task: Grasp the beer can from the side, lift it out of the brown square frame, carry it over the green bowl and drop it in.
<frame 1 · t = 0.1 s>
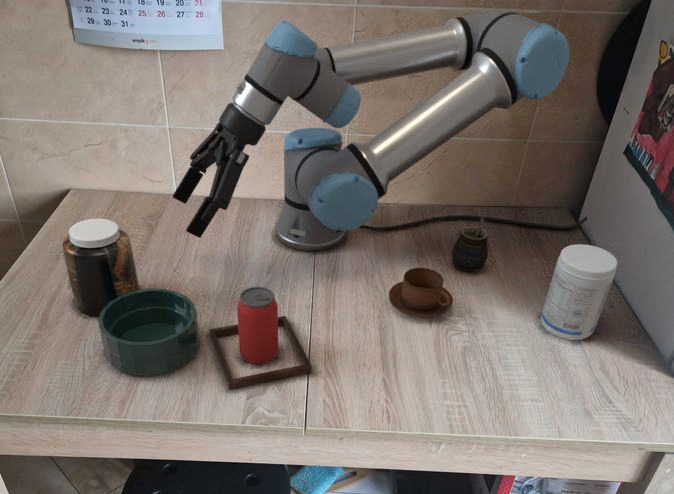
hand: (185, 216, 117), 15 cm above the table, tool tilted 35°, fingers open, 13 cm apart
supplement tub: (565, 327, 119), on the table
cup and saucer: (419, 306, 123), on the table
mate gourd: (467, 266, 135), on the table
green bowl: (153, 347, 112), on the table
beer can: (259, 354, 111), resting in brown square frame
brown square frame: (259, 353, 111), on the table
jar: (108, 300, 123), on the table
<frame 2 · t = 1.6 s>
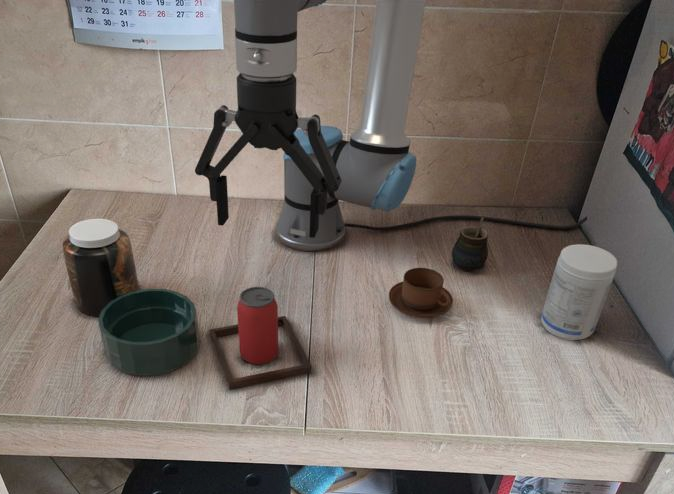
hand: (268, 227, 94), 25 cm above the table, tool pointing down, fingers open, 13 cm apart
nothing on the table moved.
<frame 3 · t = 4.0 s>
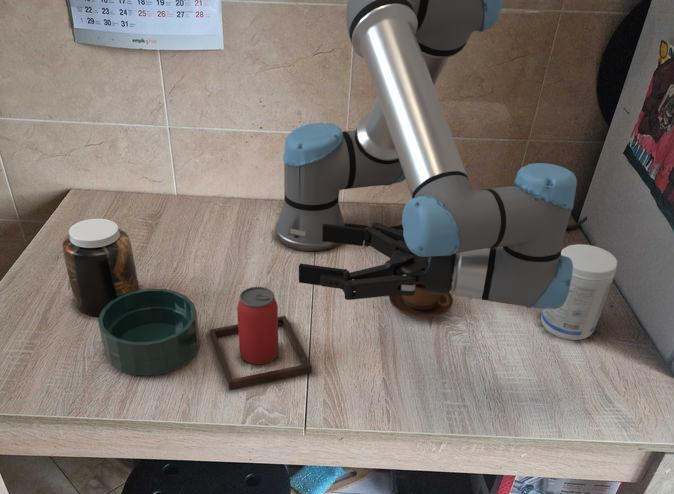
hand: (311, 251, 97), 21 cm above the table, tool horizontal, fingers open, 13 cm apart
nothing on the table moved.
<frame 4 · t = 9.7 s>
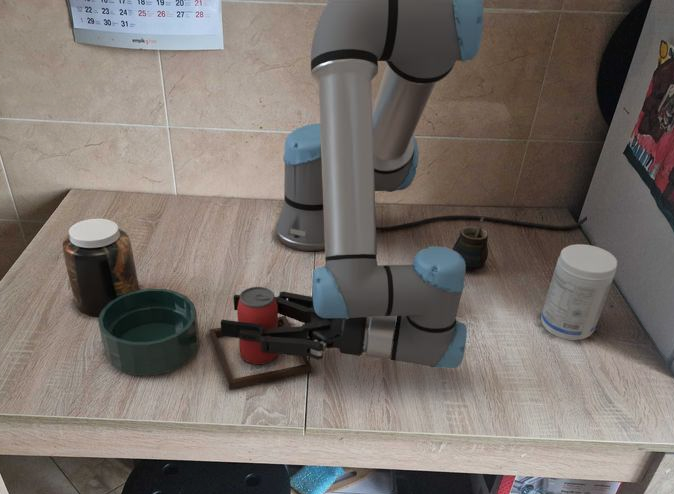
hand: (228, 314, 107), 7 cm above the table, tool horizontal, fingers closed on beer can, 7 cm apart
beer can: (259, 354, 111), resting in brown square frame, touching gripper
everything else where it was.
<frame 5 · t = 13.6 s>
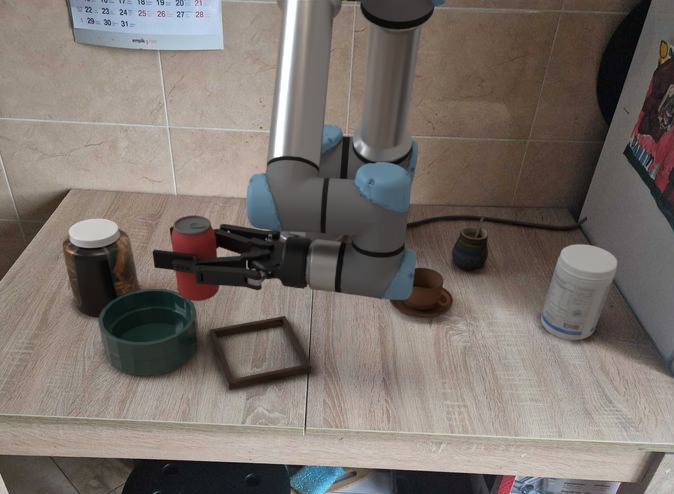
hand: (163, 246, 99), 20 cm above the table, tool horizontal, fingers closed on beer can, 7 cm apart
beer can: (199, 292, 104), point 12 cm above the table, touching gripper
everything else where it was.
when the fingers open (12 cm above the table, at t = 17.6 s): beer can drops 4 cm, resting on green bowl.
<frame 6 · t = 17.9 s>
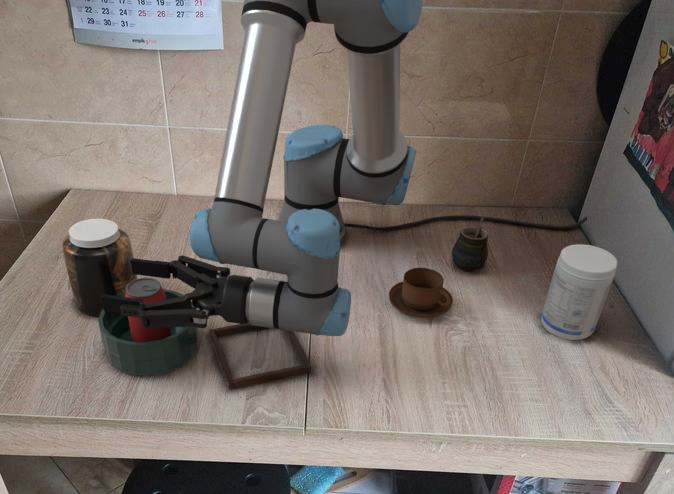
hand: (118, 283, 104), 13 cm above the table, tool horizontal, fingers open, 10 cm apart
beer can: (153, 345, 111), resting on green bowl
everything else where it was.
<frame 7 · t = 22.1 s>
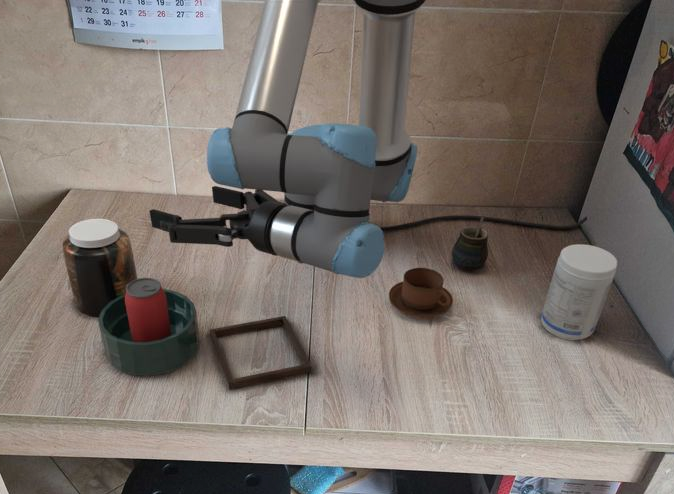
hand: (184, 205, 106), 22 cm above the table, tool horizontal, fingers open, 13 cm apart
nothing on the table moved.
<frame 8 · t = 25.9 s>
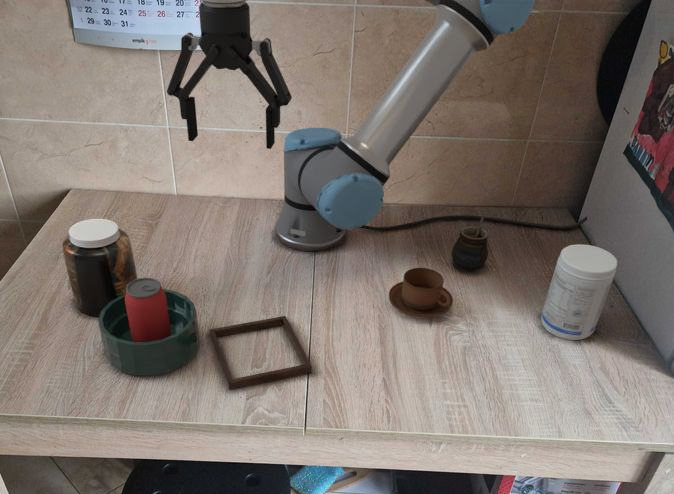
hand: (231, 142, 110), 29 cm above the table, tool pointing down, fingers open, 13 cm apart
nothing on the table moved.
at the end: beer can inside the target area in the green bowl (0.1 cm from its centre), point 0.4 cm above the green bowl's base; beer can touching green bowl; the gripper is holding nothing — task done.
